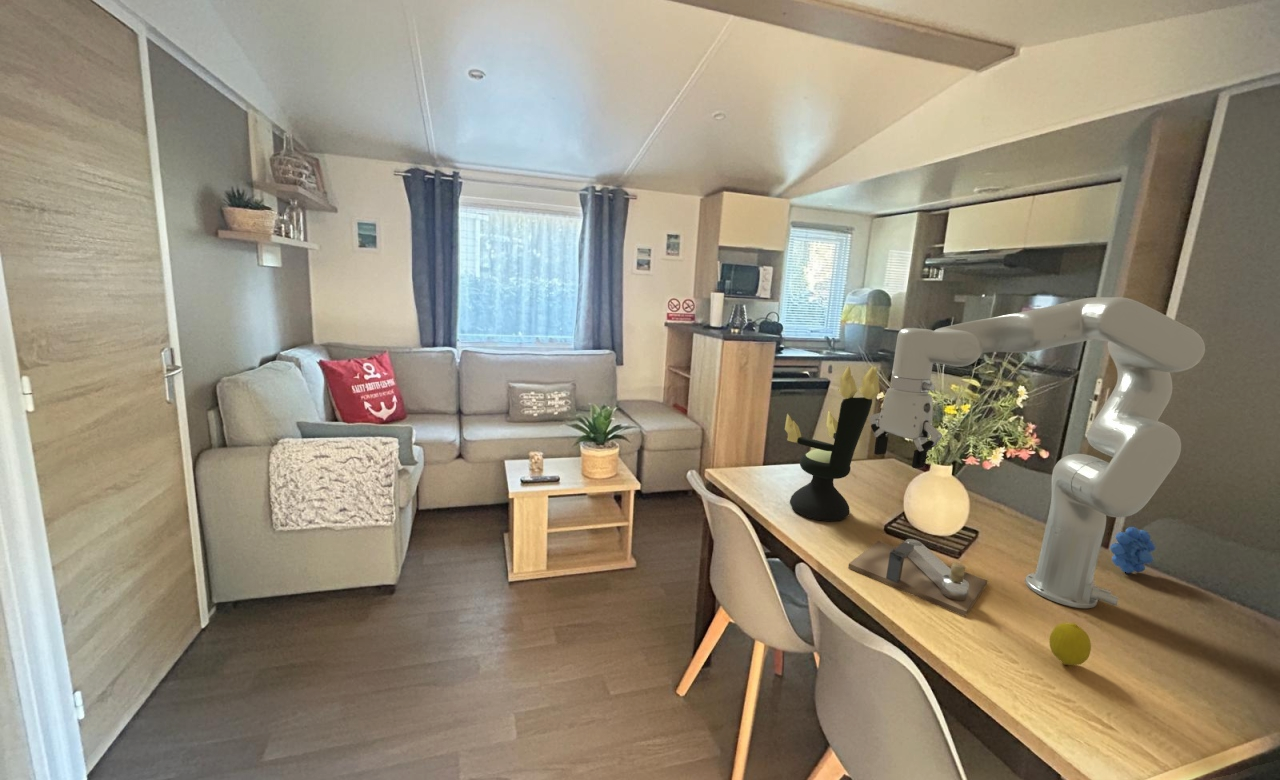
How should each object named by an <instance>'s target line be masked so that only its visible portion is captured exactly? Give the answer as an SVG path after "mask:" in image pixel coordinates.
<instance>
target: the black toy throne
mask: <svg viewBox="0 0 1280 780" xmlns="http://www.w3.org/2000/svg"><path fill="white" fill-rule="evenodd" d="M877 368H878V367H877V366H874V365H872V366H871V368H869V369H868V371H867V372H866V373H865V375H864V376H863V377H862V379H861V380H862V381H861V382H862V386H861V387H859V388H857V385H856V382H855V379H854V377H853V375H852V372H851V371H852V370H851V368H850V365H848V366H847V367H846V369H845V370H844V372H843V373H842V375H841V376H840V378H839V381H840V387H839V388H838V391H839V394H840V395H841V396H842V397H843V399H842V401H841V404H840V409H839V415H838V418H837V419H838V420H837V419H836V418H835V417H834V416H833V415H832V413H831V412H830V410H828V412H827V417H826V424H825V425H826V428H827V430H828V436H829V437H830V438H832V439H834V441H833V444H832V443H830V442H825V441H821V440H817V439H813V438H809V437H805V436H802V434H801V430H800V427H799V425H798V424H797V423H796V422H795V420H792V418H791V416H790V415H789V413H787V414H786V420H785V426H784V430H785V432H786V433H787V438H786V441H788V442H792V443H797V444H798V445H801V446H805V447H809V448H813V449H811V450H809V451H808V452H806V453H804V454H803V455H802V456H801V457H800V459H799V465H800V468H801V469H802V470H803V472H805V473H807V474H808V475H811V476H812V477H811V480H810V482H809V483H807V484H806V485H803V486H802V487H800V488H798V489H797V490H796V491H794V493H793V494H792V495H791V496H790V499H789V504H790V507H791V508H792V510H794V511H795V512H796V513H798V514H800V515H801V516H803V517H806V518H809V519H813V520H817V521H820V522H821V521H824V522H839V521H843V520H844V519H846V518H847V517H848V516H849V515H850V512H851V511H850V505H849V503H848V501H847V500H846V498H845V497H844V496H843V494H841V493H840V492H839V490H838V489H837V488H836V487H835V484H834V480H838V479H843V478H846V477H847V476H848V475H849V474H850V472H851V464H852V461H853V457H854V454H855V450H856V448H857V445H858V442H859V440H860V438H861V435H862V433H863V429H864V427H865V424H866V422H867V420H868V418H869V417H868V416H870V411H871V407H872V404H873V400H874V399H875V398H876V397H877V395H878V394H879V393H880V385H879V375H877V373H878V369H877ZM858 391H859V393H860V394H861V396H862V397H855V395H856V394H857V392H858Z"/></svg>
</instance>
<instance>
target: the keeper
mask: <svg viewBox="0 0 1280 780" xmlns="http://www.w3.org/2000/svg"><path fill="white" fill-rule="evenodd" d="M905 542H906V541H902V542H900V544H898V545H897V546H895V547H896V548H895V549H894V550H893V551H891V552H890V556H889V563H888V569H887V575H886V579H889V580H891V581H894V582H896V583H898V582H899V581H900V580H901V574H902V568H903V562H904V559H905V558H906V557H907V556H908V555H909V554H910V553H911V552H912V551H913V549H914V545H911V544H908V543H905Z"/></svg>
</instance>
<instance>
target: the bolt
mask: <svg viewBox="0 0 1280 780" xmlns="http://www.w3.org/2000/svg"><path fill="white" fill-rule="evenodd" d="M904 542H905V543H908V544H911V545H914V549H913V551H912V552H911V553H910V554H909V555H908V557H909V558H910V559H911V560H912V561H913V562H914V563H915V564H916V565H917V566H918V567H919V568H920V569H921V570H922V571H923V572H924V573H925V574H926V575H927V576H928V577H929V578H930V579H931V580H932V581H933V582H934V583H935V584H936V585H937V586H938V587H939V588H940V589H941V592H942V593H943V594H944V595H945V596H947V597H949V598H952V599H955V600H966V599H967V594H968V589H969V583H968V582H967V581H966V580H965V579H963V582H956V581H953V580H952V579H950V573H951V569H950V568H949V567H948V566H949V565H947V564H946V563H945V562H943V561H942V560H941V558H939V557H938V556H937V555H935V554H934V552H932V551H931V550H930V549H929V548H928V547H927V546H925V544H923V543H922V542H921V541H919V540H917V539H912V538H906V539H905V541H904Z"/></svg>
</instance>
